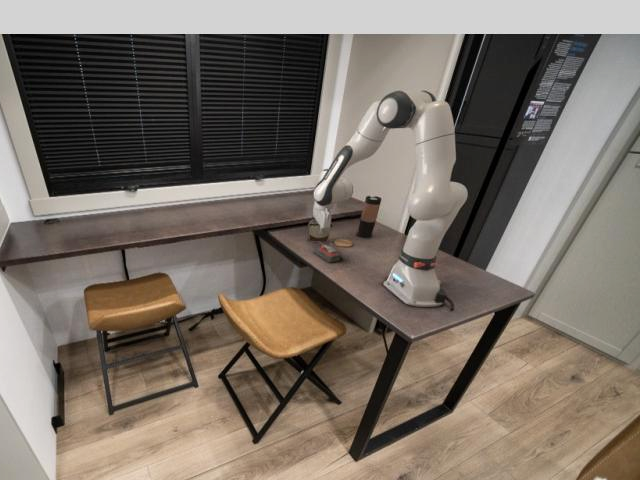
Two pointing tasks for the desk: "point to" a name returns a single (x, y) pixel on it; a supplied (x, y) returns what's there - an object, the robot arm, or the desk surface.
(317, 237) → the food container
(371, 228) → the travel mug
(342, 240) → the cork coaster
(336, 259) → the walkie-talkie
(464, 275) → the desk surface
